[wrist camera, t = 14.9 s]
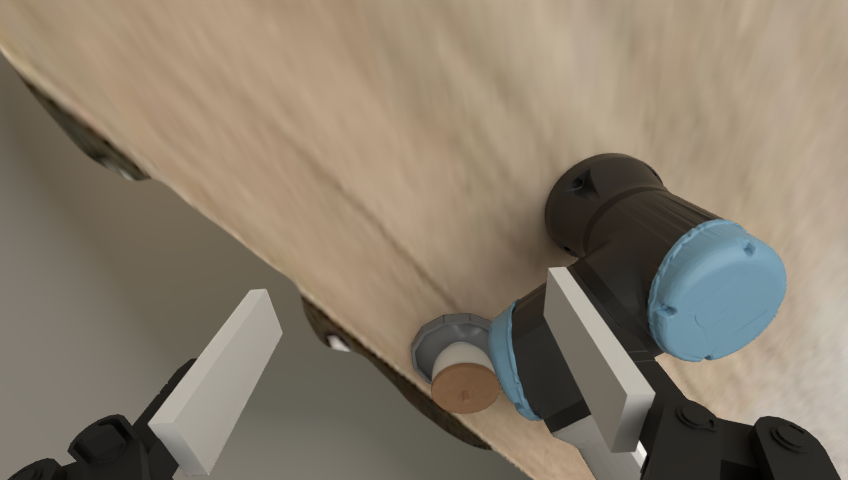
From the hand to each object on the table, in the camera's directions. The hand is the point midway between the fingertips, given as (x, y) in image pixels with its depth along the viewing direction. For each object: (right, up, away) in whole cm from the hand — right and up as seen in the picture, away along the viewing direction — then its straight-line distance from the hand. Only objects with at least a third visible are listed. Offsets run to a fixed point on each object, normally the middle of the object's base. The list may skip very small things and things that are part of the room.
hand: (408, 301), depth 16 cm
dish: (+7, -17, +45) cm, 48 cm away
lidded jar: (+7, -17, +44) cm, 47 cm away
